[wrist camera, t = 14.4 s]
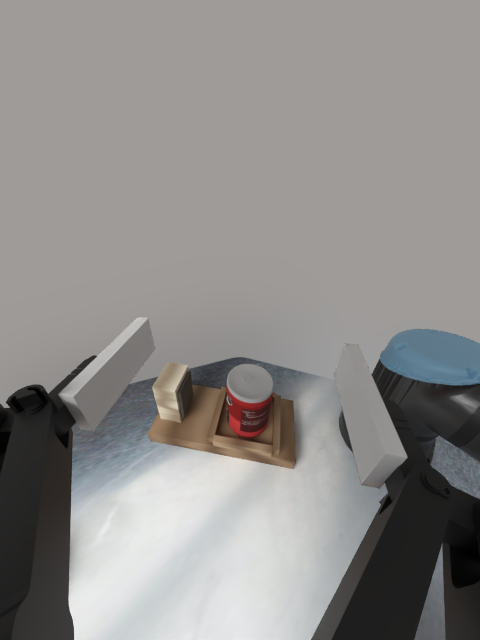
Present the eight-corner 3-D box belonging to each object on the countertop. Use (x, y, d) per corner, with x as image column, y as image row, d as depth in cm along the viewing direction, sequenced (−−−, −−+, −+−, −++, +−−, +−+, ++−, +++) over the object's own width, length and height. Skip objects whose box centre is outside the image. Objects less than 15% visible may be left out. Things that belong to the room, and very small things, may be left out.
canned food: (240, 395, 47) (242, 357, 41) (274, 415, 44) (282, 376, 38) (217, 424, 42) (216, 384, 36) (255, 448, 38) (260, 409, 32)
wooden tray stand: (291, 408, 48) (301, 370, 42) (293, 468, 38) (306, 430, 32) (176, 389, 51) (169, 351, 45) (150, 440, 41) (136, 401, 35)
